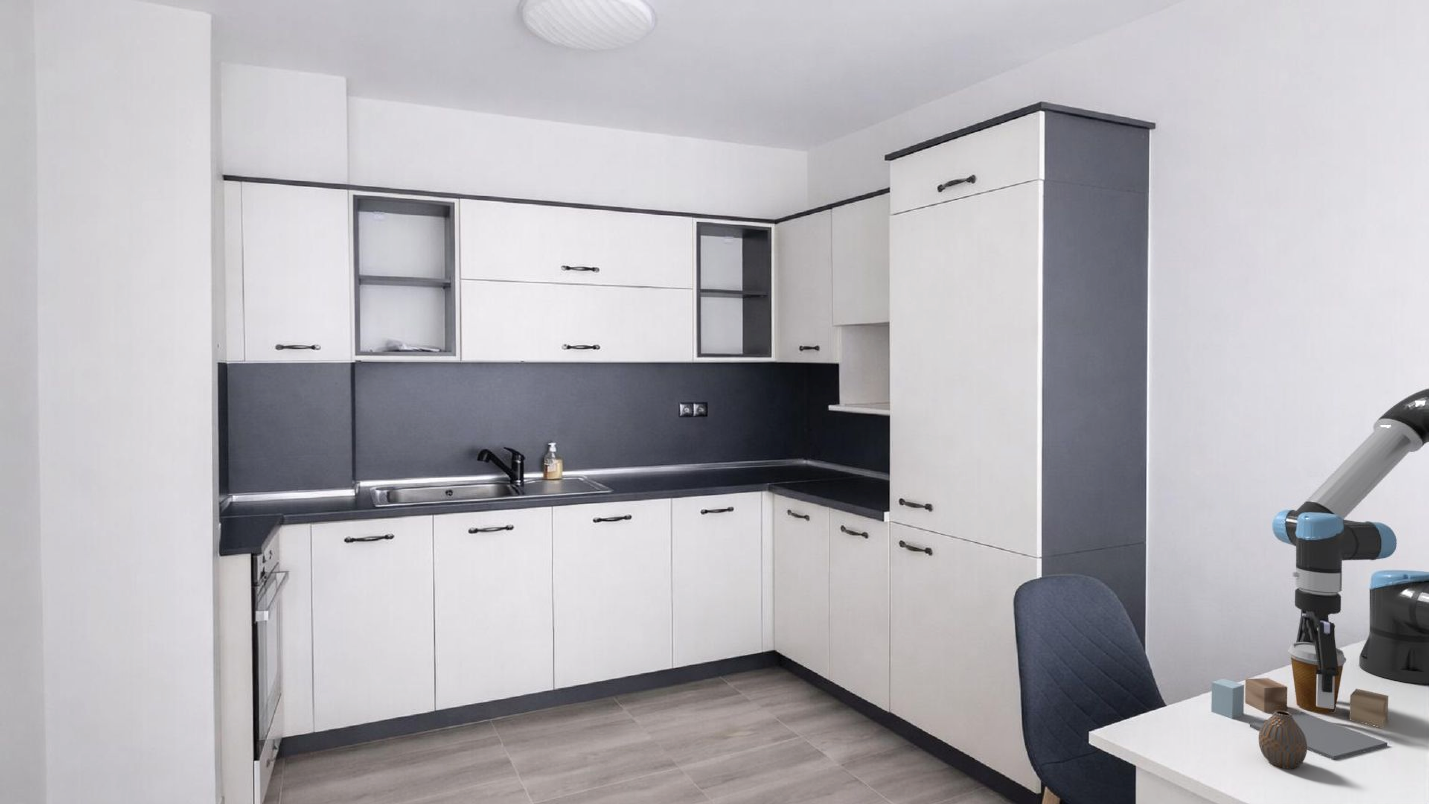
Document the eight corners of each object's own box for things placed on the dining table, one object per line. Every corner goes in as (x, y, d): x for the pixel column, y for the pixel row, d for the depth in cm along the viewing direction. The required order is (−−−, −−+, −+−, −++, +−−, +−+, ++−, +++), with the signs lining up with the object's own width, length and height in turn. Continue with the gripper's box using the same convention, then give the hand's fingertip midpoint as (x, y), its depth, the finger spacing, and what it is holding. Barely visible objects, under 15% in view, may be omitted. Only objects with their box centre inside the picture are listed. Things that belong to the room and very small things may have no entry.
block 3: (1355, 713, 165) (1356, 688, 165) (1387, 721, 162) (1388, 695, 162) (1349, 720, 162) (1350, 694, 162) (1382, 728, 158) (1382, 702, 158)
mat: (1301, 715, 164) (1301, 712, 164) (1387, 745, 150) (1387, 742, 150) (1249, 726, 159) (1249, 723, 159) (1333, 759, 145) (1333, 756, 145)
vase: (1316, 769, 141) (1317, 718, 141) (1285, 775, 139) (1286, 723, 139) (1278, 752, 148) (1279, 703, 148) (1248, 757, 146) (1249, 707, 146)
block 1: (1243, 715, 165) (1222, 708, 168) (1244, 684, 164) (1223, 678, 168) (1232, 719, 163) (1211, 712, 166) (1232, 688, 162) (1211, 682, 166)
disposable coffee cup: (1355, 718, 163) (1356, 657, 162) (1300, 714, 164) (1301, 654, 164) (1329, 700, 172) (1331, 642, 172) (1278, 697, 174) (1279, 639, 174)
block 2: (1267, 702, 171) (1267, 678, 171) (1286, 711, 166) (1287, 686, 166) (1245, 703, 171) (1245, 679, 171) (1264, 712, 166) (1264, 687, 166)
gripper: (1281, 575, 181) (1279, 673, 181) (1312, 603, 158) (1309, 714, 158) (1322, 579, 178) (1320, 678, 178) (1360, 607, 155) (1357, 721, 155)
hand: (1315, 695), depth 168 cm, fingers open, 13 cm apart
